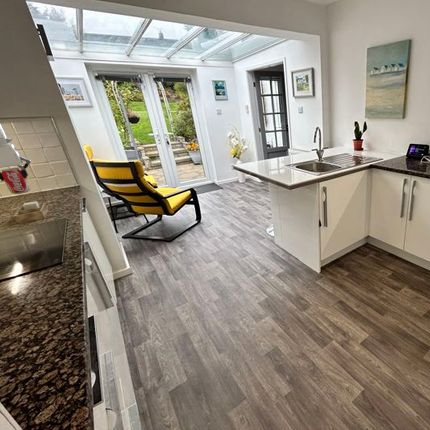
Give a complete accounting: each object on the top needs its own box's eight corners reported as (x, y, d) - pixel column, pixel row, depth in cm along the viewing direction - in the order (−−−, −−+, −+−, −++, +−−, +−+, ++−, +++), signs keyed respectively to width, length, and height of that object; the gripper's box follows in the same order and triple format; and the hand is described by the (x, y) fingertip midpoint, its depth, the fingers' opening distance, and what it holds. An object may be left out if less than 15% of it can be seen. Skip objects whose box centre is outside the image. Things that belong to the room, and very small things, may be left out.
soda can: (11, 195, 128) (-2, 171, 123) (11, 193, 132) (-1, 169, 128) (31, 192, 133) (20, 168, 128) (31, 189, 137) (20, 167, 133)
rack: (18, 225, 130) (13, 216, 129) (24, 215, 144) (20, 206, 142) (45, 219, 136) (41, 211, 135) (48, 210, 150) (45, 202, 148)
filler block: (27, 216, 140) (22, 205, 137) (29, 213, 143) (23, 203, 141) (40, 213, 143) (35, 203, 140) (41, 211, 146) (37, 201, 144)
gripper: (24, 139, 131) (40, 174, 138) (-30, 143, 120) (-10, 181, 127) (22, 140, 126) (38, 177, 132) (-35, 144, 115) (-14, 184, 122)
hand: (14, 178), depth 130 cm, fingers closed on soda can, 7 cm apart
